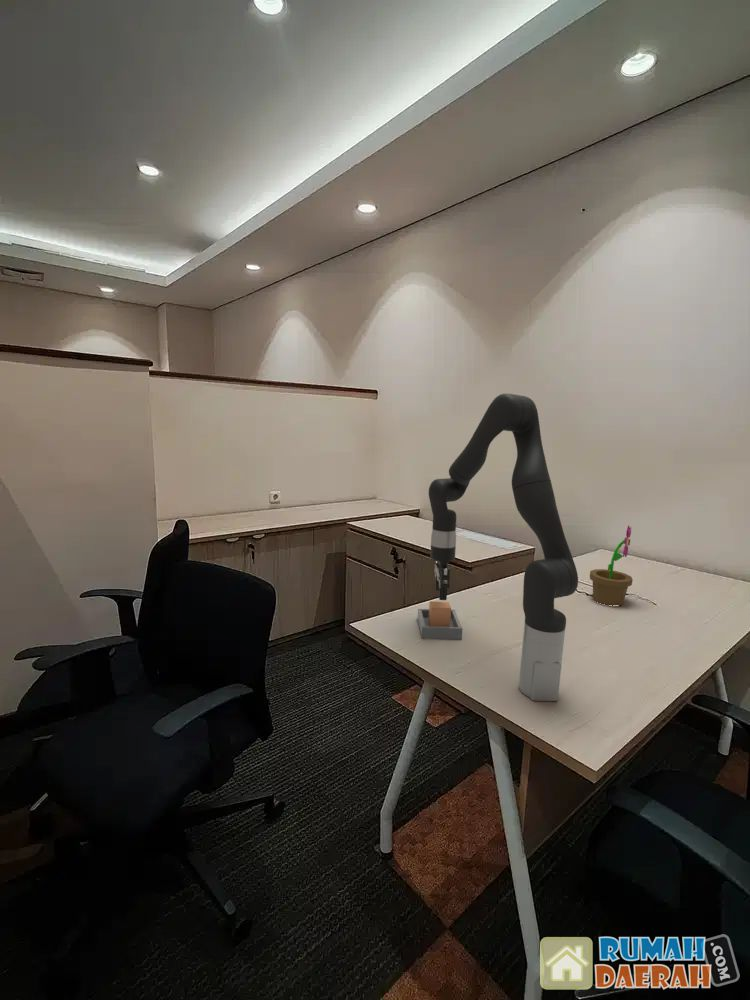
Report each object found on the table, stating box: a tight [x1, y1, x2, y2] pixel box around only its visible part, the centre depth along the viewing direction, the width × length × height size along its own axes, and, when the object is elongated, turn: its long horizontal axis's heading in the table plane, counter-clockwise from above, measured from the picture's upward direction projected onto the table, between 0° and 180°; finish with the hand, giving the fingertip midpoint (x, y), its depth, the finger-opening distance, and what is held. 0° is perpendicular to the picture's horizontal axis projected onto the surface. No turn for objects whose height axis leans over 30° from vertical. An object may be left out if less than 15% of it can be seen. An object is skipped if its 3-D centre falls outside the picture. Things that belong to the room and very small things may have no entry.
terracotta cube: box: [428, 601, 452, 627], centre depth 147 cm, size 5×6×7 cm
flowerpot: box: [589, 524, 633, 606], centre depth 173 cm, size 14×14×30 cm
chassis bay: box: [417, 608, 463, 641], centre depth 147 cm, size 14×12×4 cm
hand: (440, 594), depth 146 cm, fingers open, 8 cm apart
